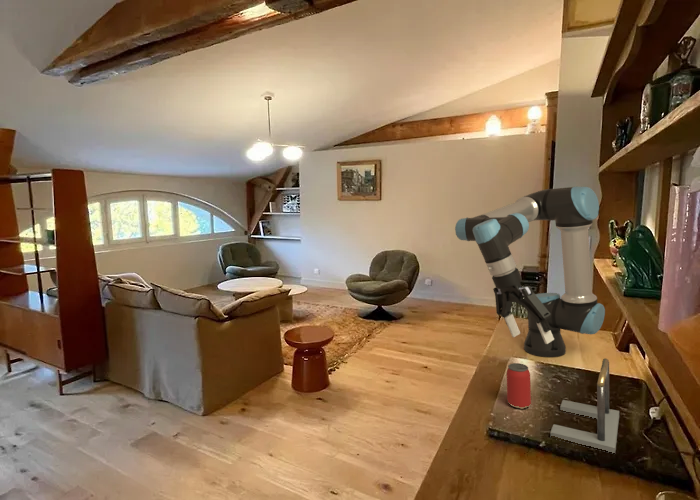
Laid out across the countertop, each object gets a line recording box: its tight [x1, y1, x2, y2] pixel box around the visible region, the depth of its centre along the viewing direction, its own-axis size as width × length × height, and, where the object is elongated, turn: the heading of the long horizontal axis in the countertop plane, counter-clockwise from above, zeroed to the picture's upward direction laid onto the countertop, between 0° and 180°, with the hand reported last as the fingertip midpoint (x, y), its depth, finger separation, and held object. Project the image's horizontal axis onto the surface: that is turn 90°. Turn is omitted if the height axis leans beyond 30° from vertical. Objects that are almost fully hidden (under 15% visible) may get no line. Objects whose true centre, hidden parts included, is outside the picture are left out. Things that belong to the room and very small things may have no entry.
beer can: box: [506, 362, 532, 407], centre depth 122 cm, size 7×7×12 cm
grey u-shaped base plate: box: [549, 399, 620, 454], centre depth 109 cm, size 20×14×2 cm
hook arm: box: [596, 358, 610, 441], centre depth 106 cm, size 17×2×17 cm, turn 144°
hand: (532, 338), depth 118 cm, fingers open, 13 cm apart
